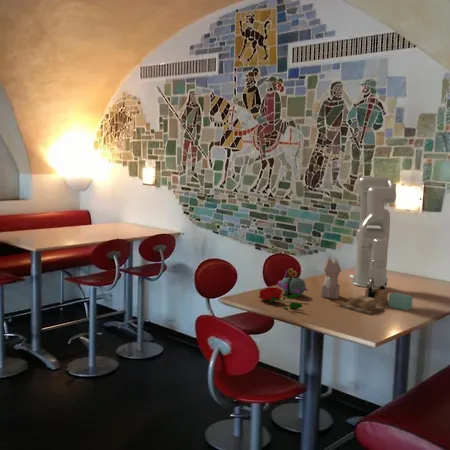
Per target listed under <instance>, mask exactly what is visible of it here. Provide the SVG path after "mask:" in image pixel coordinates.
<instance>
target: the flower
mask: <svg viewBox="0 0 450 450" xmlns="http://www.w3.org/2000/svg"><path fill="white" fill-rule="evenodd" d="M282 293H284V291H283V290H282V288H280V287H278V286H277V287H270V286H269V287H266V288H264V289H260V290H259V295H258V298H259V299H261V300H262V301H269V302H268V303H269V304H271V303H273V302H274V301H275V302H281V303H285V304H286V303H289V304H288V305H287V304H286V305H285V306H283V307H282V309H283V310H287V309H286V308H287V307H289V309H294V310H297V309H301V308H302V307H303V305H305V306H306V305H309V304H310V303H304V302H295V301H284V300H286V299H287V300H289V299H295V298H298V297H300V296H301V294H300V295H299V294H292V293H291V294H288V296H287V294H285V293H284V296H283V295H282ZM282 297H283V298H282ZM281 298H282V299H281Z"/></svg>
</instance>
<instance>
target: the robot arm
mask: <svg viewBox="0 0 450 450" xmlns="http://www.w3.org/2000/svg"><path fill="white" fill-rule="evenodd" d="M357 182H358V183H357V189H358V194H359V197H360V210H359V221H360V226H359V229H357V230H356V233H355V238H356V239H355V240H356V261H355V273H354V274H353V273H352V274H351V273H350V275H349V279H352V281H351V284H352V285H354V286H356V287H361V288H362V287H363V288H367V289H368V297H371V298H374V295H375V292H374V290H375V288H380V289H384V290H387V284H388V282H389V279H388V277H387V273H388V272H387V265H388V264H387V263H388V254H389V253H388V252H389V250H388V249H389V242H390V231H391V230H390V228H391V214H390V211H389V210H388V209H387V208H385V204H394V203H396V199H397V192H396V187H395V184H394V182H393V180H392V178H391V177H388V176H387V177H385V176H384V177H383V176H362V177H360V178H359V179H358V181H357ZM367 226H373V227H367ZM376 227H380V228H376ZM372 287H373V289H372Z"/></svg>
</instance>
